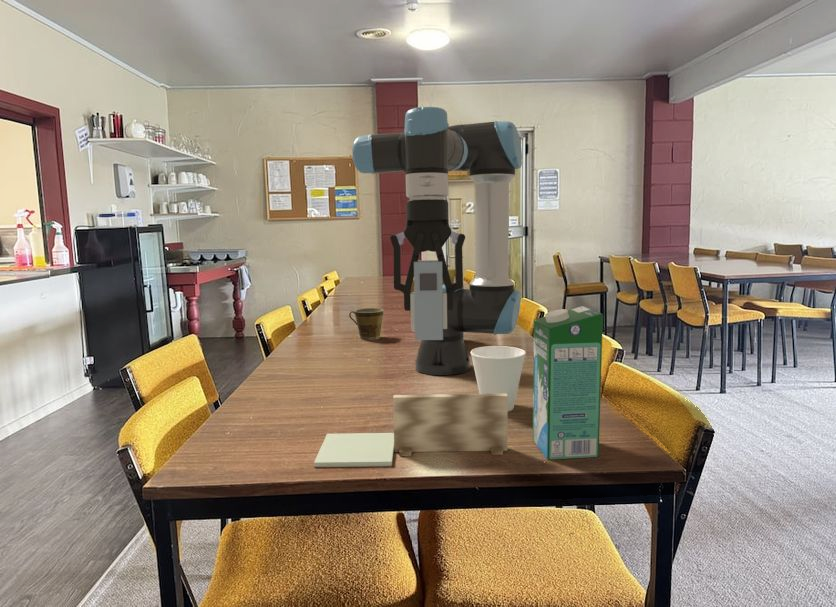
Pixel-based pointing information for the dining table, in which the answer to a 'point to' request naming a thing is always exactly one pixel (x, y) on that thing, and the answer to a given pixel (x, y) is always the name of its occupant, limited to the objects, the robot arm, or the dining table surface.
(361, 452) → the mat
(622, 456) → the dining table surface
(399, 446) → the birch screen
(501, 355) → the cup
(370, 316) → the ceramic cup
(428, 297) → the block
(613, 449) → the dining table surface
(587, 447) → the milk carton
